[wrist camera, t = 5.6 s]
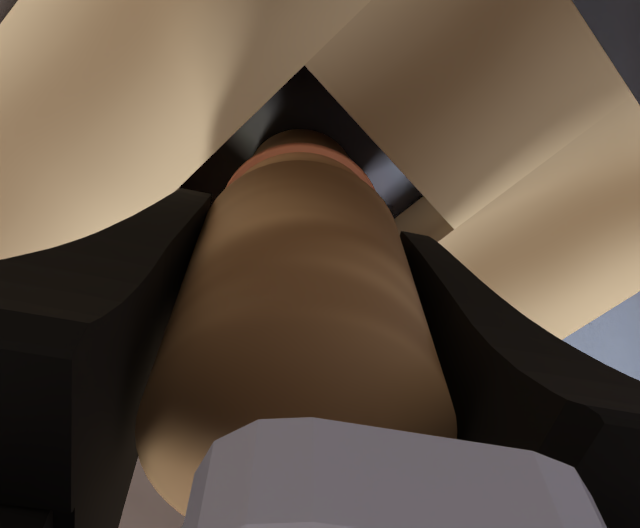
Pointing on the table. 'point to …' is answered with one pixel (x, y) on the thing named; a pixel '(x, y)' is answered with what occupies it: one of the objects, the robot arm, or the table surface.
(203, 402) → the oak peg
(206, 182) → the table surface
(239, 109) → the birch board
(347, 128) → the table surface
